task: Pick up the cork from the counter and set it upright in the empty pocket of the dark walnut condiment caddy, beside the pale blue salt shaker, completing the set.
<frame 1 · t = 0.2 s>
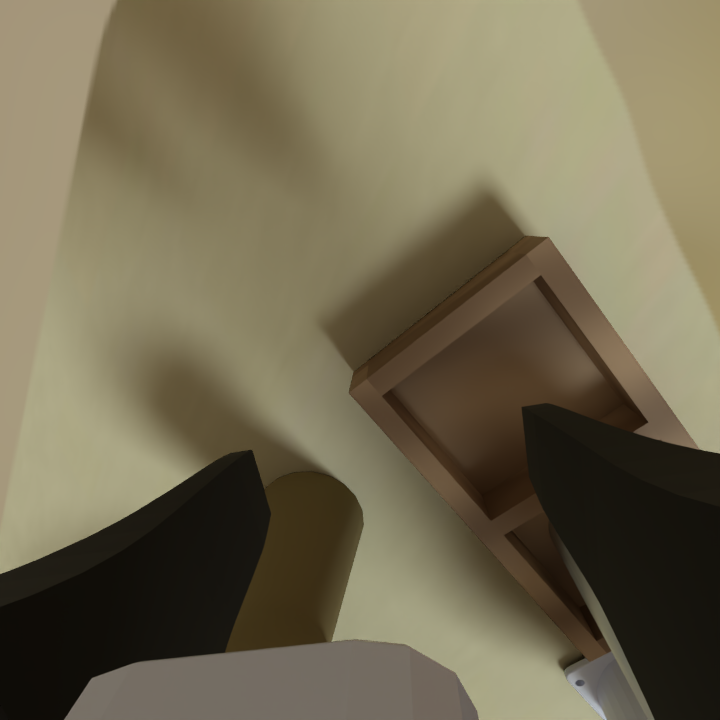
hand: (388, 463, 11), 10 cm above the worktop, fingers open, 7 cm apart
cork: (310, 517, 24), on the worktop
caddy: (549, 450, 22), on the worktop
salt shaker: (605, 520, 22), point 1 cm above the worktop, touching caddy
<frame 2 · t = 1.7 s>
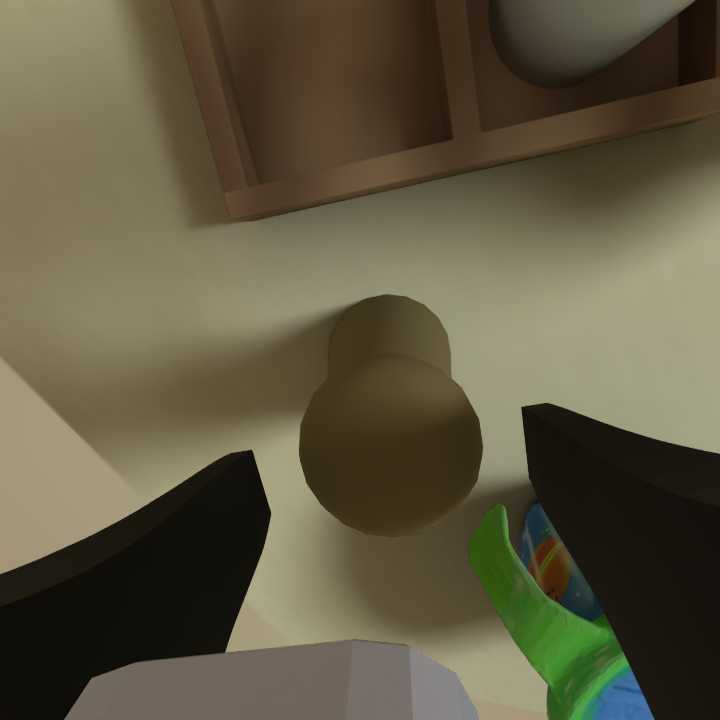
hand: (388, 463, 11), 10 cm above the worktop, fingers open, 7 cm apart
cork: (388, 354, 22), on the worktop
caddy: (441, 43, 17), on the worktop
salt shaker: (564, 3, 16), point 1 cm above the worktop, touching caddy
snack cup: (585, 530, 24), on the worktop
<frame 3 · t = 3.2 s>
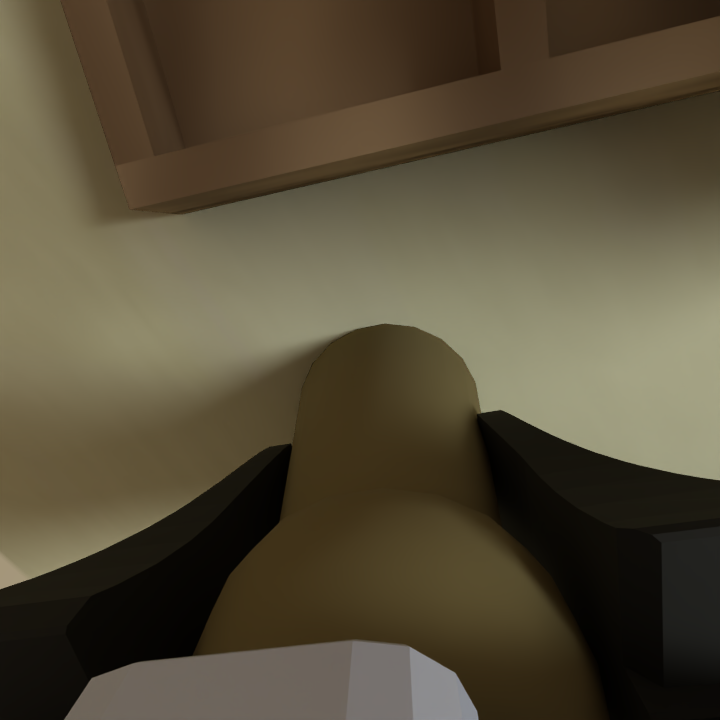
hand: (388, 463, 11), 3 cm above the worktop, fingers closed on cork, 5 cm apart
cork: (388, 409, 15), on the worktop, touching gripper
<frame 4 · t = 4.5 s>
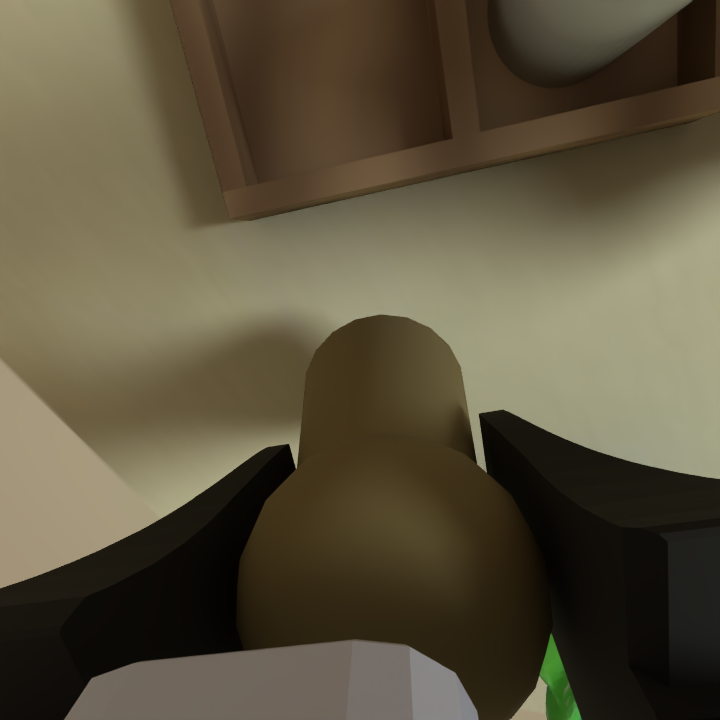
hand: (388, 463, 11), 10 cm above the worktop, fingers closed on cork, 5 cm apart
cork: (383, 391, 17), point 5 cm above the worktop, touching gripper
caddy: (440, 43, 17), on the worktop
salt shaker: (563, 3, 16), point 1 cm above the worktop, touching caddy
snack cup: (584, 530, 24), on the worktop
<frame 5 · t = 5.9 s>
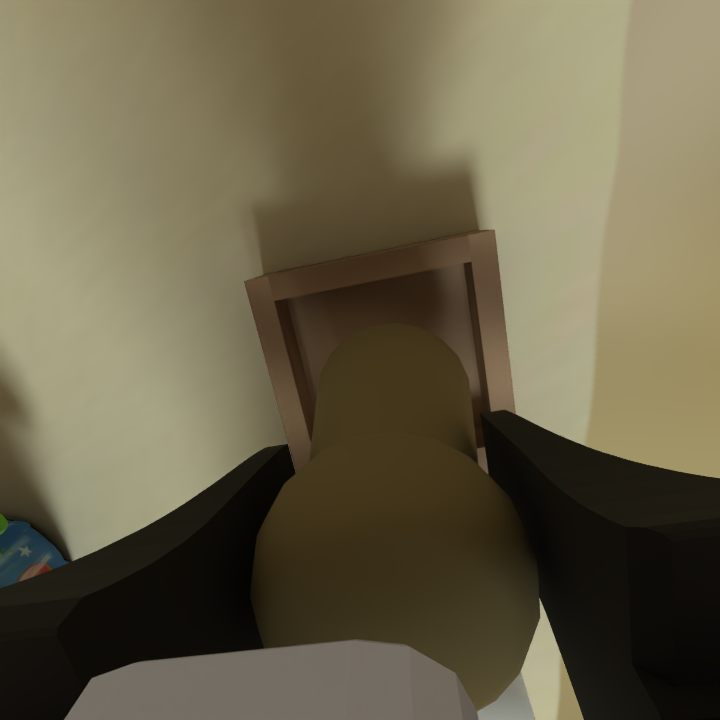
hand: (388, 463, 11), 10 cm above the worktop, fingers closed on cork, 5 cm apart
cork: (392, 396, 17), point 4 cm above the worktop, touching gripper
caddy: (404, 440, 22), on the worktop
salt shaker: (419, 524, 23), point 1 cm above the worktop, touching caddy
snack cup: (19, 562, 26), on the worktop
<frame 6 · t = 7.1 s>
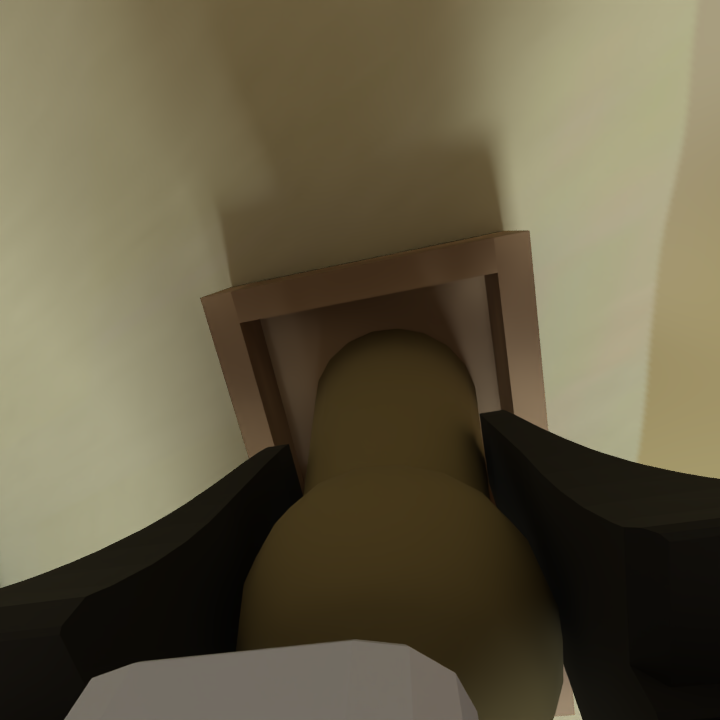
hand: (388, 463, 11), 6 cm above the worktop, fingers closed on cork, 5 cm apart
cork: (394, 405, 16), point 1 cm above the worktop, touching caddy, gripper
caddy: (407, 488, 18), on the worktop
when the fingers open (6 cm above the worktop, at t = 7.1 s): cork stays where it is, resting on caddy.
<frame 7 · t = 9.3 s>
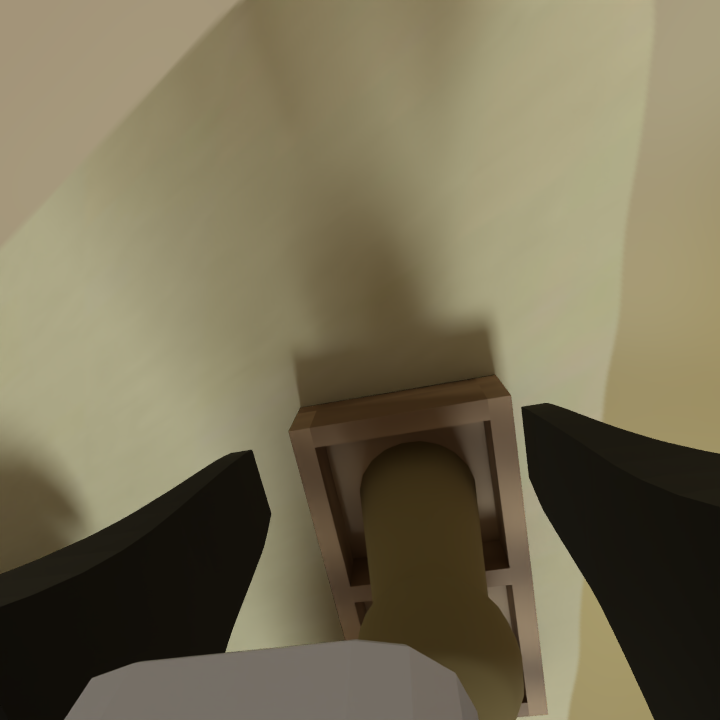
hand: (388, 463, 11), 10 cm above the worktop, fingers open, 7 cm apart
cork: (417, 491, 23), point 1 cm above the worktop, touching caddy
caddy: (425, 546, 24), on the worktop
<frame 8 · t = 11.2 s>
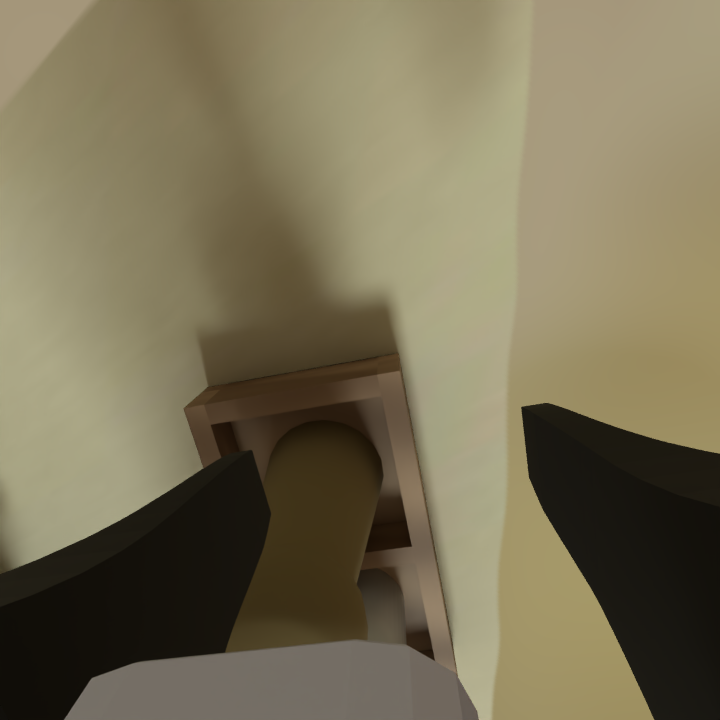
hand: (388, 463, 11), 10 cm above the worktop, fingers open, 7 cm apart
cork: (326, 471, 23), point 1 cm above the worktop, touching caddy
caddy: (340, 528, 24), on the worktop
salt shaker: (355, 603, 25), point 1 cm above the worktop, touching caddy
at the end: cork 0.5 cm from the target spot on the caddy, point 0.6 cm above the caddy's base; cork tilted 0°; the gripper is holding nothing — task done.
